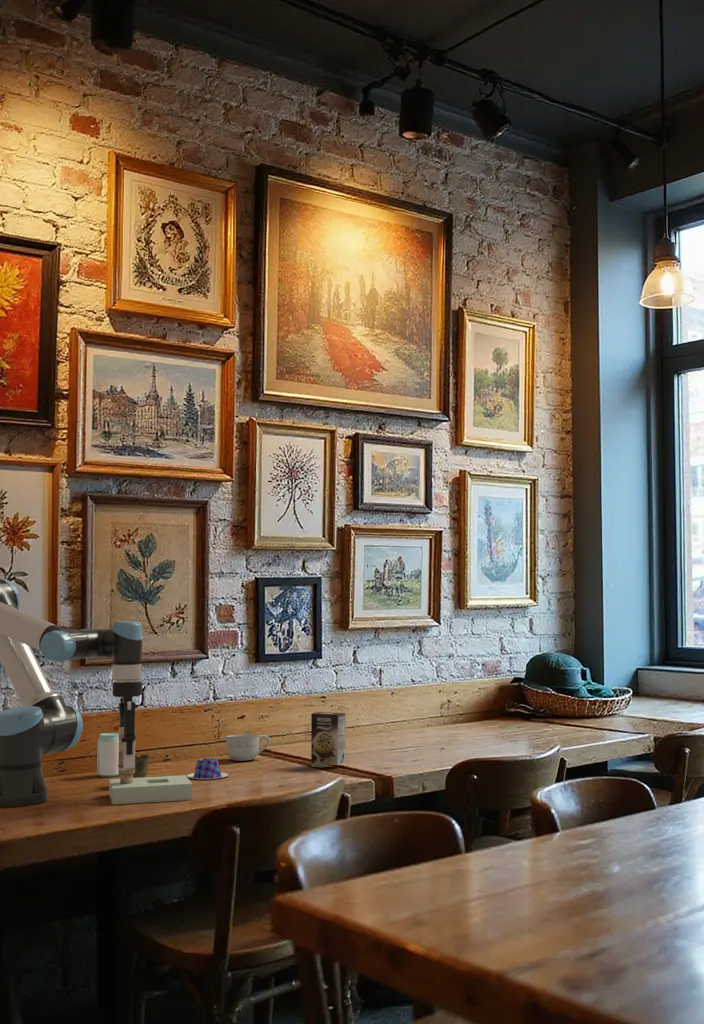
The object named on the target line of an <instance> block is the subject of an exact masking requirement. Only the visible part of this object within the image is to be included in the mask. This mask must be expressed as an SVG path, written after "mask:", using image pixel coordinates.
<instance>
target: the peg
mask: <svg viewBox="0 0 704 1024" xmlns="http://www.w3.org/2000/svg"><path fill="white" fill-rule="evenodd" d="M118 733H119V760H118V774H119V776H120V778H119V779H120V783H121V784H130V783H133V773H135V768H123V750H124V742H121V740H122V738H124V727H121V728H120V727H118ZM134 741H135V742H136V739H135V740H134Z"/></svg>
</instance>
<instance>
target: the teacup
mask: <svg viewBox="0 0 704 1024" xmlns="http://www.w3.org/2000/svg"><path fill="white" fill-rule="evenodd" d="M225 739H226V741H225V742H226V746H225V747H226V753H227V754H226V755H227V756H228V757H229V758H230V759H231V760H232V761H234V762H235V761H237V762H241V761H243V762H244V761H253V760H255V758H257V756H258V755H260V754H261V753H262V751H265V749H267V748H268V747H270V743H271V739H270V737H269V736H268V735H265V734H263V735H259V734H258V733H257V734H253V733H251V734H250V733H248V734H245V733H242V734H233V735H226V736H225ZM263 739H265V740H266V744H264V745H263V746H262V747H260V744H261V742H262V740H263Z"/></svg>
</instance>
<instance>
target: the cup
mask: <svg viewBox="0 0 704 1024" xmlns="http://www.w3.org/2000/svg"><path fill="white" fill-rule="evenodd" d="M149 763H150V755H147V754H140V756H137V754H136V753H135V773H133V778H143V777H146V776H147V774H148V770H149Z"/></svg>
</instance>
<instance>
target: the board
mask: <svg viewBox="0 0 704 1024" xmlns="http://www.w3.org/2000/svg"><path fill="white" fill-rule="evenodd" d="M108 795H109V799H110V801H111V805H124V804H127V805H128V804H142V803H143V804H144V803H161V802H174V801H175V802H177V801H189V800H193V783H192V782H191V780H190V778H189V777H187V775H184V774H183V775H181V774H180V775H167V776H166V775H165V776H147V777H146V776H145V777H143V778H133V783H130V784H121V783H120V778H112V779H111V778H110V779H108Z"/></svg>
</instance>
